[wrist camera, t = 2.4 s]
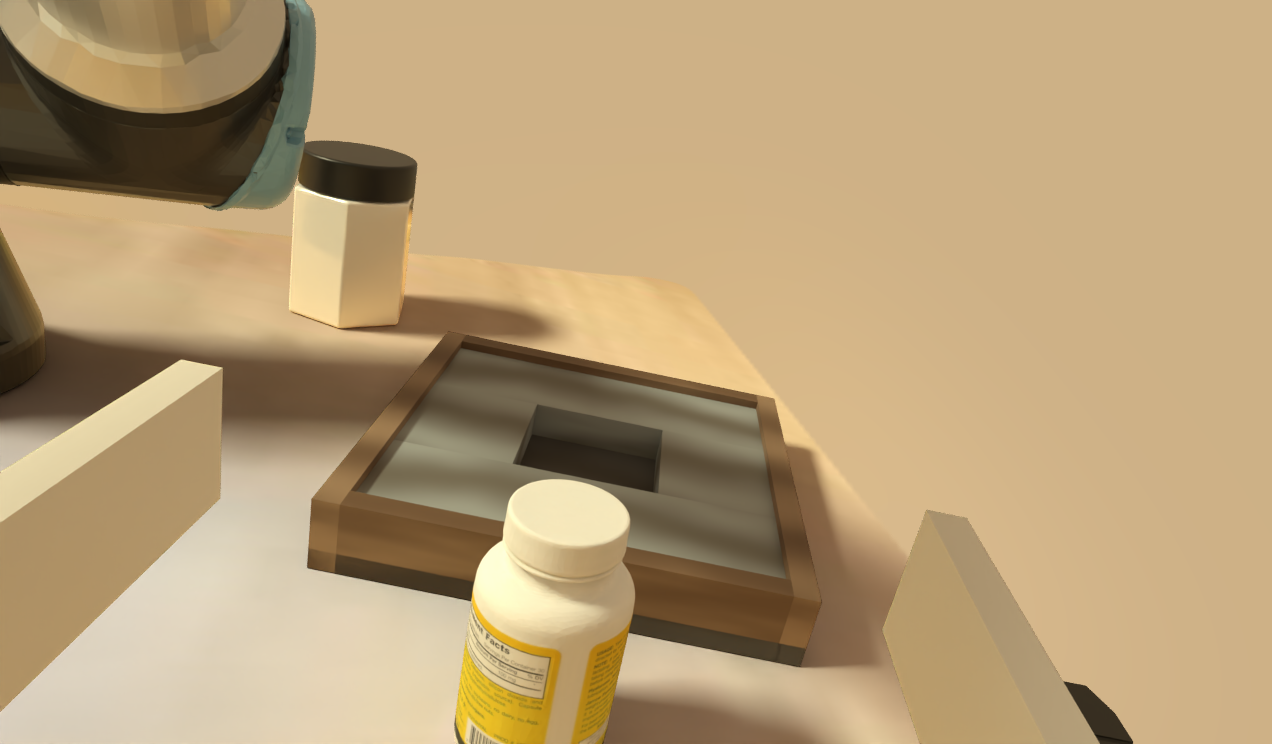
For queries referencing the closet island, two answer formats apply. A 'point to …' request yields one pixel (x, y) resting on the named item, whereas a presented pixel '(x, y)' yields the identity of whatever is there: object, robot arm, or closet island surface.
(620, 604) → the supplement bottle
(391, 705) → the closet island surface
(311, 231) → the jar
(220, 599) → the closet island surface
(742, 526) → the bore box
